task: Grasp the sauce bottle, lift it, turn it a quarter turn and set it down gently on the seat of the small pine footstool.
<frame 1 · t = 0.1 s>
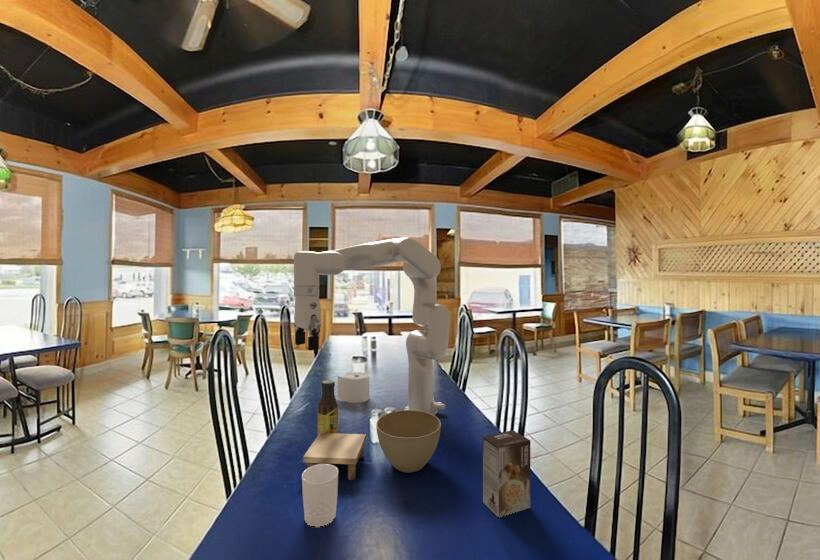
hand: (306, 346, 113), 31 cm above the table, tool pointing down, fingers open, 9 cm apart
sauce bottle: (328, 445, 115), on the table
tan bowl: (408, 465, 103), on the table
footstool: (336, 465, 103), on the table
white cup: (320, 518, 81), on the table
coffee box: (506, 506, 86), on the table
toilet tissue: (355, 399, 155), on the table
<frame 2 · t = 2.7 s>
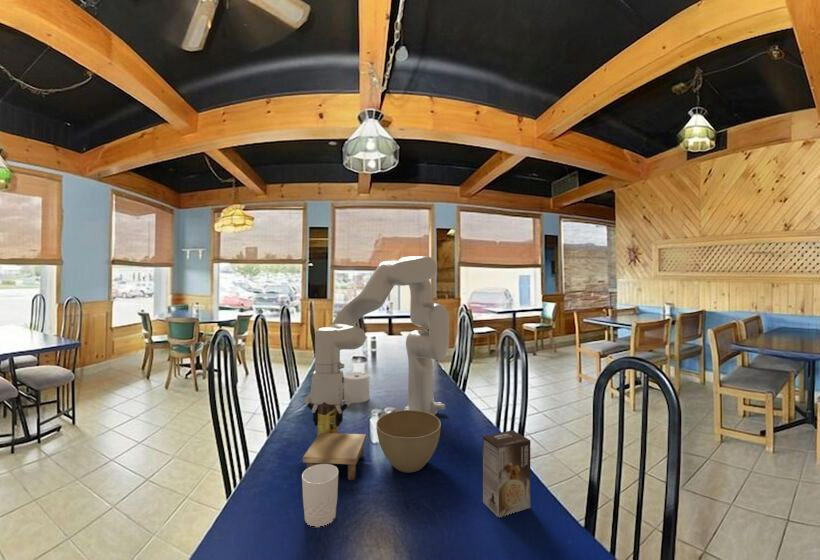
hand: (327, 423, 115), 7 cm above the table, tool pointing down, fingers closed on sauce bottle, 6 cm apart
sauce bottle: (328, 445, 115), on the table, touching gripper
everything else where it was.
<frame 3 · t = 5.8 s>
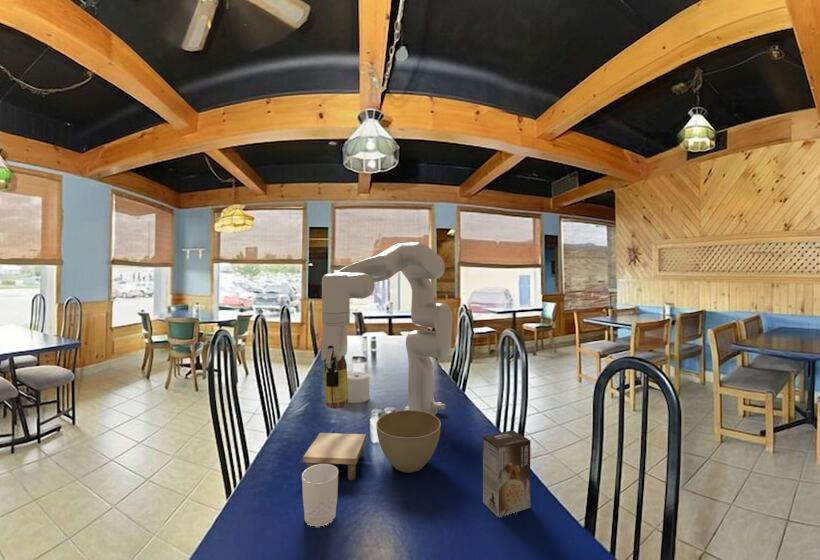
hand: (336, 381, 102), 24 cm above the table, tool pointing down, fingers closed on sauce bottle, 6 cm apart
sauce bottle: (336, 406, 102), point 17 cm above the table, touching gripper
everything else where it was.
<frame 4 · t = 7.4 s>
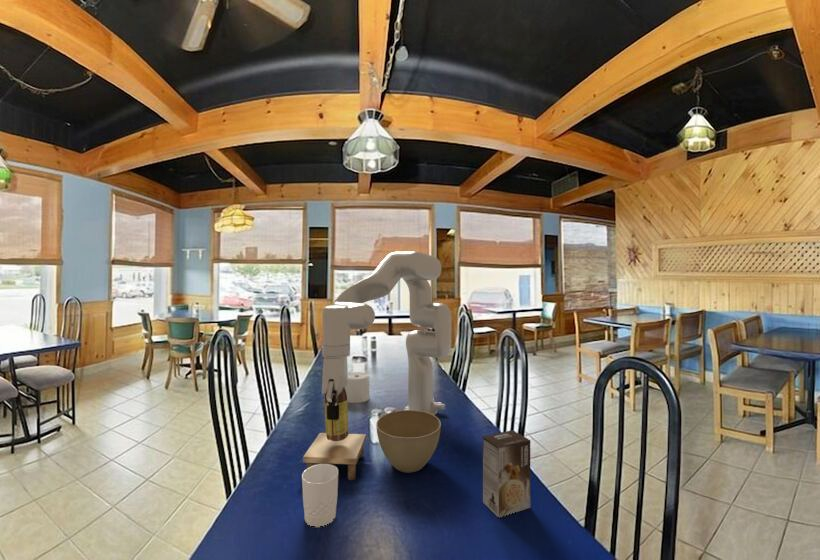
hand: (336, 413, 102), 15 cm above the table, tool pointing down, fingers closed on sauce bottle, 6 cm apart
sauce bottle: (336, 437, 102), point 8 cm above the table, touching gripper
everything else where it was.
when the fingers open (13 cm above the table, at t = 8.9 s): sauce bottle stays where it is, resting on footstool.
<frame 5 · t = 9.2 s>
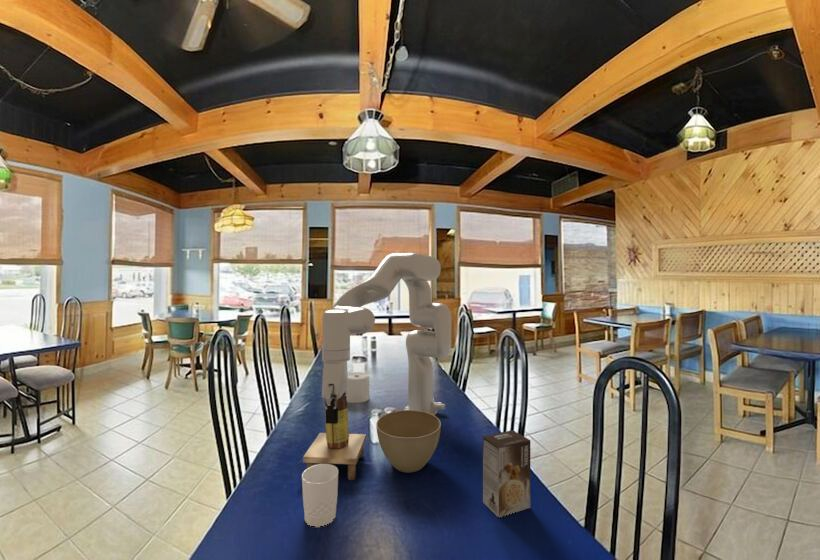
hand: (336, 415, 102), 14 cm above the table, tool pointing down, fingers open, 9 cm apart
sauce bottle: (337, 445, 102), point 6 cm above the table, touching footstool
everything else where it was.
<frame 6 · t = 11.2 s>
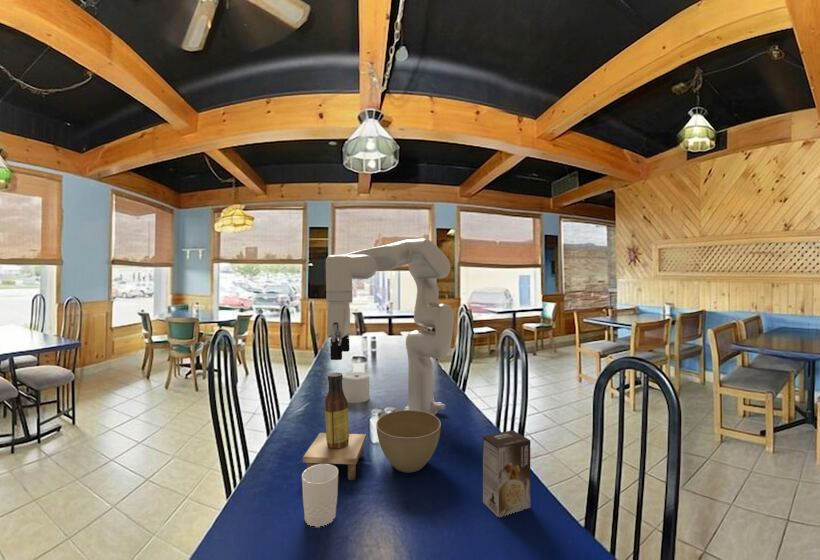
hand: (340, 355, 108), 30 cm above the table, tool pointing down, fingers open, 9 cm apart
nothing on the table moved.
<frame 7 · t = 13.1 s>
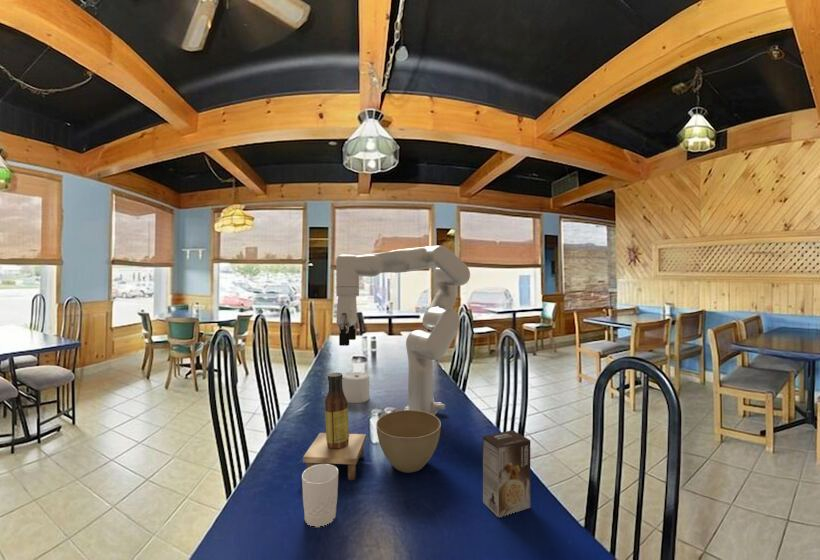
hand: (347, 342, 124), 30 cm above the table, tool pointing down, fingers open, 9 cm apart
nothing on the table moved.
at the end: sauce bottle inside the target area on the footstool (0.1 cm from its centre), point 5.8 cm above the footstool's base; sauce bottle tilted 0°; the gripper is holding nothing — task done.
